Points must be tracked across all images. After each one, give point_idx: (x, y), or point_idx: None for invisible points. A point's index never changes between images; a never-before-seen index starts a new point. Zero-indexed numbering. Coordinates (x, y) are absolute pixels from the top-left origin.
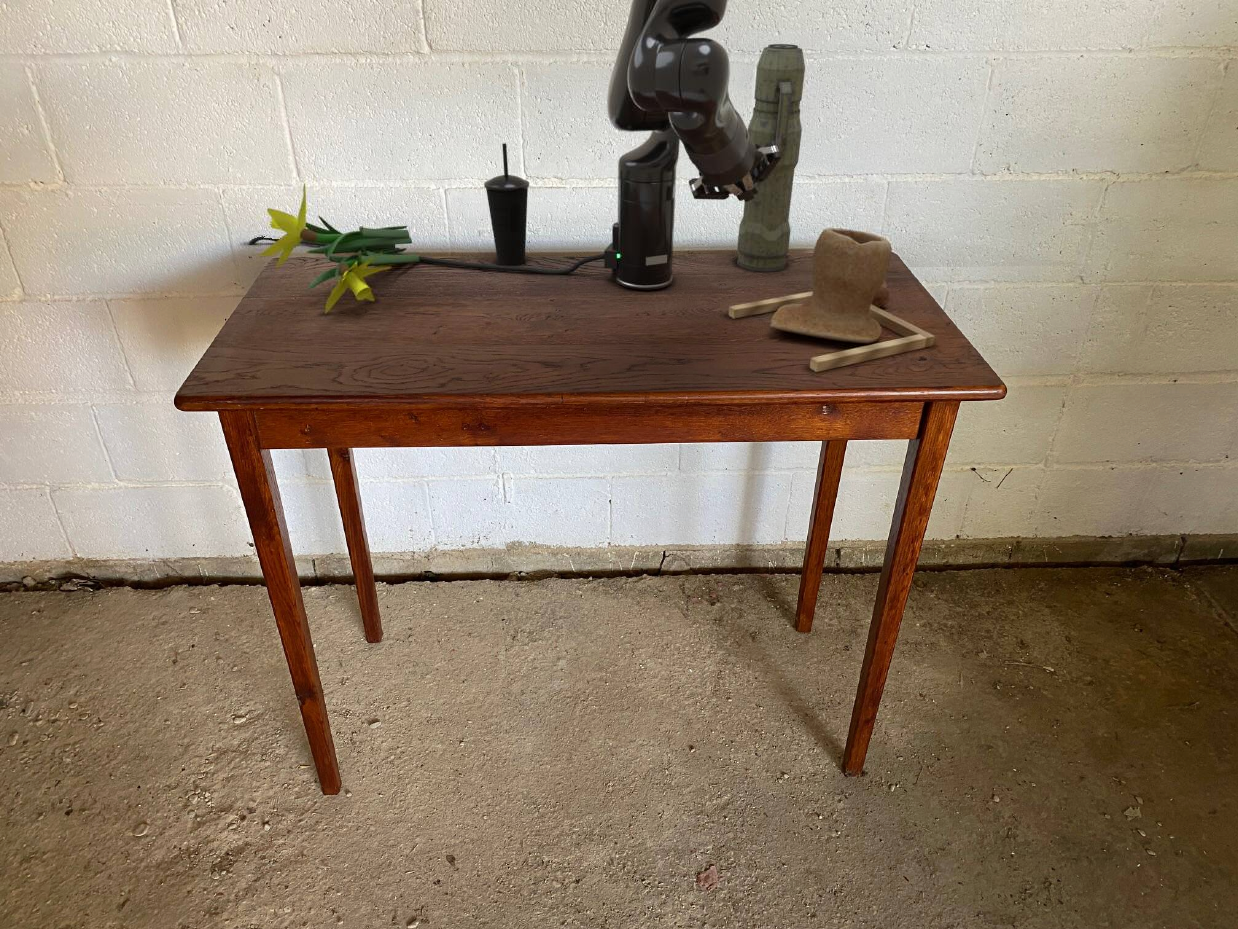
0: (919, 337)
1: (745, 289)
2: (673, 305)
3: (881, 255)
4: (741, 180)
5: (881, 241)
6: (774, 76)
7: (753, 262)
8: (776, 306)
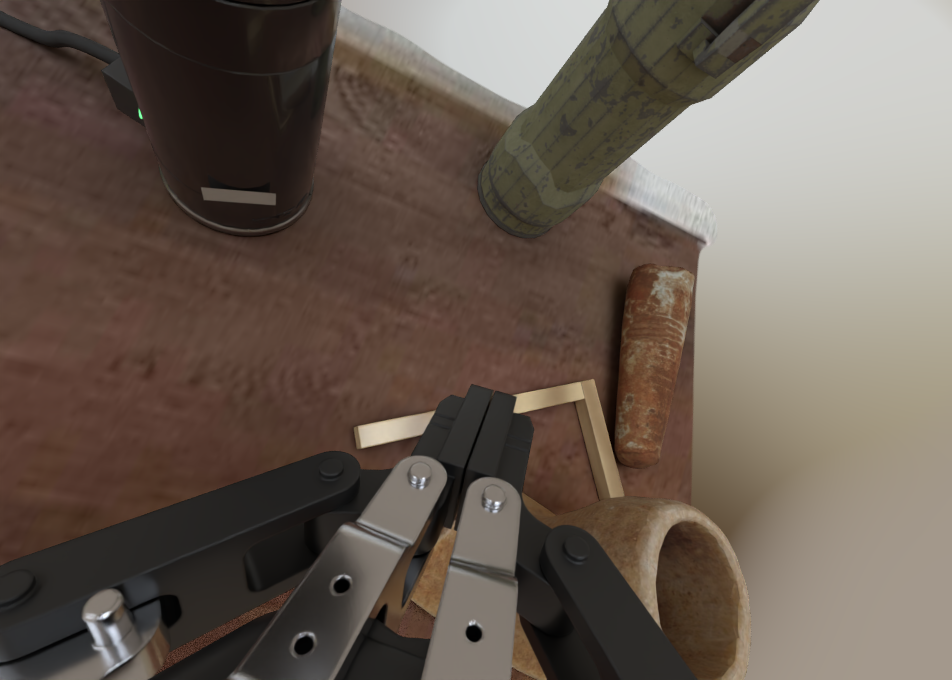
0: None
1: (444, 300)
2: (248, 334)
3: None
4: (463, 483)
5: (740, 656)
6: None
7: (499, 211)
8: None
